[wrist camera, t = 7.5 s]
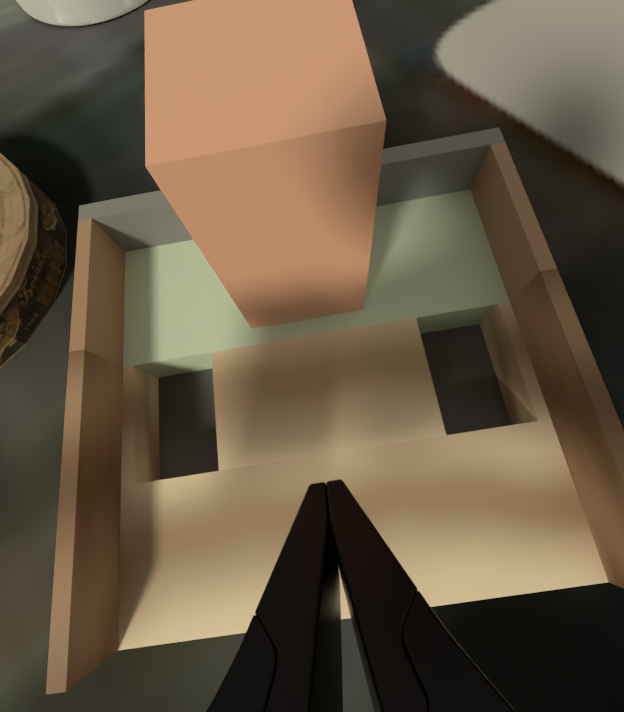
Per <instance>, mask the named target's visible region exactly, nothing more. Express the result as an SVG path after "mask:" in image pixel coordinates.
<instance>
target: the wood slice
mask: <svg viewBox="0 0 624 712" xmlns="http://www.w3.org/2000/svg"><path fill="white" fill-rule="evenodd" d="M66 267H67V231H66V228H65V226H64V224H63V221H62V219H61V216H60V214H59V212H58V209H57V207H56V204H55V203H54V202H53V201H52V200H51V199H50V198H49V197H48V196H47V195H46V194H45V193H43V192H42V191H41V190H40V189H39V188H38V187H37V186H36V185H35V184H34V183H33V182H32V181H30V180H29V179H28V178H27V177H26V176H25V175H24V174H23V173H22V172H21V171H20V170H19V169H17V168H16V167H15V166H14V165H13V164H12V163H11V162H10V161H9V160H8V159H7V158H5V157H4V156H3V155H2V154H1V153H0V368H1V367H2V366H3V365H4V364H5V363H7V362H8V361H9V360H10V359H11V358H12V357H13V356H14V355H15V354H16V353H18V352H19V351H20V350H21V349H22V348H23V347H24V346H25V345H26V344H27V343H28V342H29V340H30V339H31V337H32V336H33V334H34V333H35V331H36V330H37V328H38V327H39V326H40V324H41V323H42V321H43V320H44V318H45V317H46V315H47V314H48V312H49V311H50V309H51V308H52V306H53V305H54V302H55V299H56V296H57V293H58V290H59V287H60V284H61V281H62V278H63V275H64V272H65V269H66Z"/></svg>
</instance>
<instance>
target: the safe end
mask: <svg viewBox="0 0 624 712" xmlns="http://www.w3.org/2000/svg"><path fill="white" fill-rule="evenodd" d="M556 268H557V267H556V264H555V262H554V260H553V257H552V255H551V252H550V250H549V247H548V245H547V242H546V240H545V238H544V235H543V233H542V230H541V228H540V225H539V223H538V221H537V218H536V216H535V213H534V211H533V208H532V206H531V204H530V201H529V199H528V196H527V194H526V191H525V189H524V187H523V184H522V182H521V179H520V177H519V174H518V172H517V170H516V167H515V165H514V162H513V160H512V157H511V155H510V153H509V150H508V148H507V145H506V143H505V140H504V138H503V135H502V133H501V131H500V128H499V127H498V128H492V129H487V130H482V131H476V132H471V133H466V134H460V135H455V136H450V137H444V138H439V139H434V140H428V141H423V142H417V143H412V144H407V145H401V146H396V147H391V148H385V149H383V153H382V161H381V170H380V178H379V186H378V195H377V203H376V211H375V220H374V228H373V236H372V245H371V253H370V262H369V270H368V278H367V287H366V295H365V303H364V310H358V311H352V312H347V313H341V314H335V315H329V316H323V317H318V318H312V319H306V320H300V321H295V322H289V323H283V324H277V325H271V326H266V327H260V328H254V329H252V328H251V327H250V325H249V324H248V322H247V321H246V319H245V318H244V316H243V315H242V313H241V311H240V310H239V308H238V307H237V305H236V304H235V302H234V301H233V299H232V298H231V296H230V295H229V293H228V292H227V290H226V289H225V287H224V286H223V284H222V282H221V281H220V279H219V278H218V276H217V275H216V273H215V272H214V270H213V269H212V267H211V266H210V264H209V263H208V261H207V260H206V258H205V257H204V255H203V253H202V252H201V250H200V249H199V247H198V246H197V244H196V243H195V241H194V240H193V238H192V237H191V235H190V234H189V232H188V231H187V229H186V228H185V226H184V224H183V223H182V221H181V220H180V218H179V217H178V215H177V214H176V212H175V211H174V209H173V208H172V206H171V205H170V203H169V202H168V200H167V199H166V197H165V195H164V194H163V192H162V191H161V190H160V191H155V192H150V193H144V194H139V195H133V196H128V197H123V198H117V199H112V200H107V201H101V202H96V203H91V204H85V205H80V206H79V214H78V229H77V244H76V258H75V273H74V288H73V302H72V317H71V332H70V346H69V352H71V351H77V350H83V349H85V350H87V351H89V352H92V353H94V354H96V355H98V356H100V357H102V358H104V359H107V360H109V361H111V362H113V363H115V364H117V365H119V366H122V367H127V366H133V365H134V366H136V367H138V368H140V369H142V370H144V371H146V372H148V373H150V374H152V375H154V376H156V377H164V376H170V375H176V374H182V373H188V372H194V371H200V370H206V369H212V354H211V352H216V351H222V350H228V349H234V348H240V347H246V346H252V345H258V344H264V343H270V342H275V341H281V340H287V339H293V338H299V337H305V336H311V335H317V334H323V333H329V332H335V331H341V330H347V329H353V328H358V327H364V326H370V325H376V324H382V323H388V322H394V321H400V320H406V319H412V318H416V319H417V323H418V327H419V331H420V334H422V333H428V332H434V331H440V330H446V329H452V328H458V327H464V326H470V325H476V324H480V323H481V322H482V321H483V320H484V319H485V318H486V316H487V315H488V314H489V313H490V312H491V311H492V310H493V309H494V308H495V307H496V306H497V305H498V304H501V303H507V302H510V301H511V300H512V299H513V298H514V297H515V296H516V295H517V294H518V293H519V292H520V291H521V290H522V289H523V288H524V287H525V286H526V285H527V284H528V283H529V282H530V281H531V280H532V279H533V278H534V277H535V276H536V275H537V274H538V273H539V272H540V271H544V270H550V269H556Z"/></svg>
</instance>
